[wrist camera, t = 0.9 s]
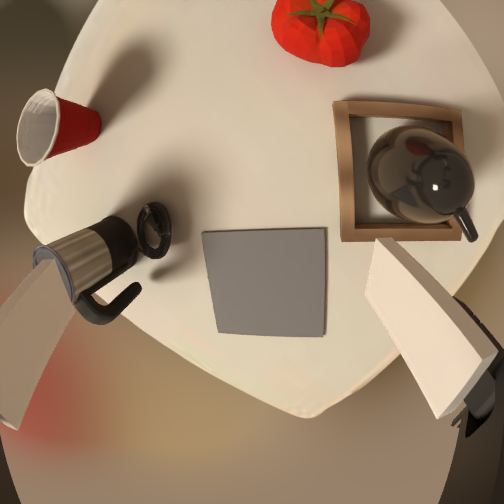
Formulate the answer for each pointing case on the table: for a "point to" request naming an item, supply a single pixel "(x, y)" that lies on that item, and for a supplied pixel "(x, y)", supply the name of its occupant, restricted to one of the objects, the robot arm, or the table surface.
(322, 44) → the tomato
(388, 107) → the walnut collar
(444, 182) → the pump dispenser
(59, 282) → the robot arm
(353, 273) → the table surface
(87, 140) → the plastic cup
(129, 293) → the milk frother
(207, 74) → the table surface
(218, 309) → the rubber mat
